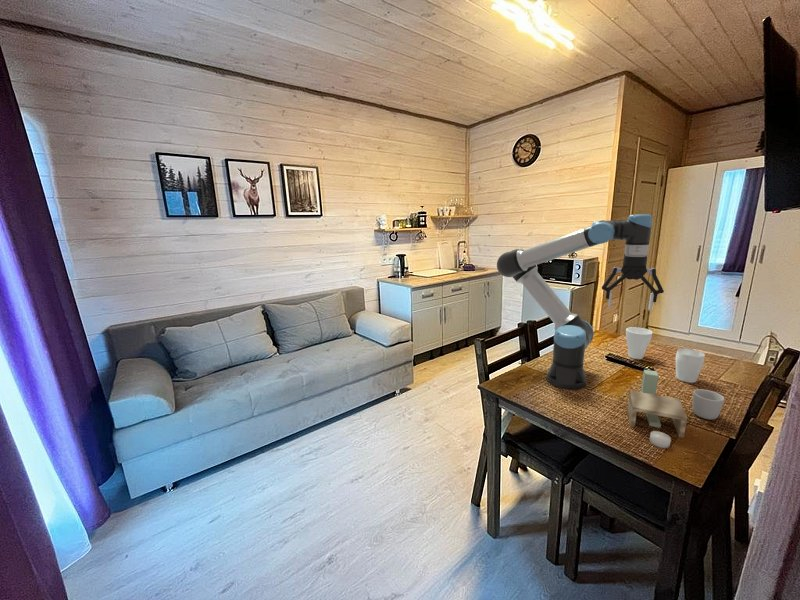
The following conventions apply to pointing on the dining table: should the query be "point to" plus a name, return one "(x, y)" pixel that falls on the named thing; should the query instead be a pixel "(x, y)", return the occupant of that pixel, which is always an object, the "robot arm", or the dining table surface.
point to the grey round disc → (660, 439)
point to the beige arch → (657, 408)
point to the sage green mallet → (650, 387)
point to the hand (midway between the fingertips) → (629, 308)
